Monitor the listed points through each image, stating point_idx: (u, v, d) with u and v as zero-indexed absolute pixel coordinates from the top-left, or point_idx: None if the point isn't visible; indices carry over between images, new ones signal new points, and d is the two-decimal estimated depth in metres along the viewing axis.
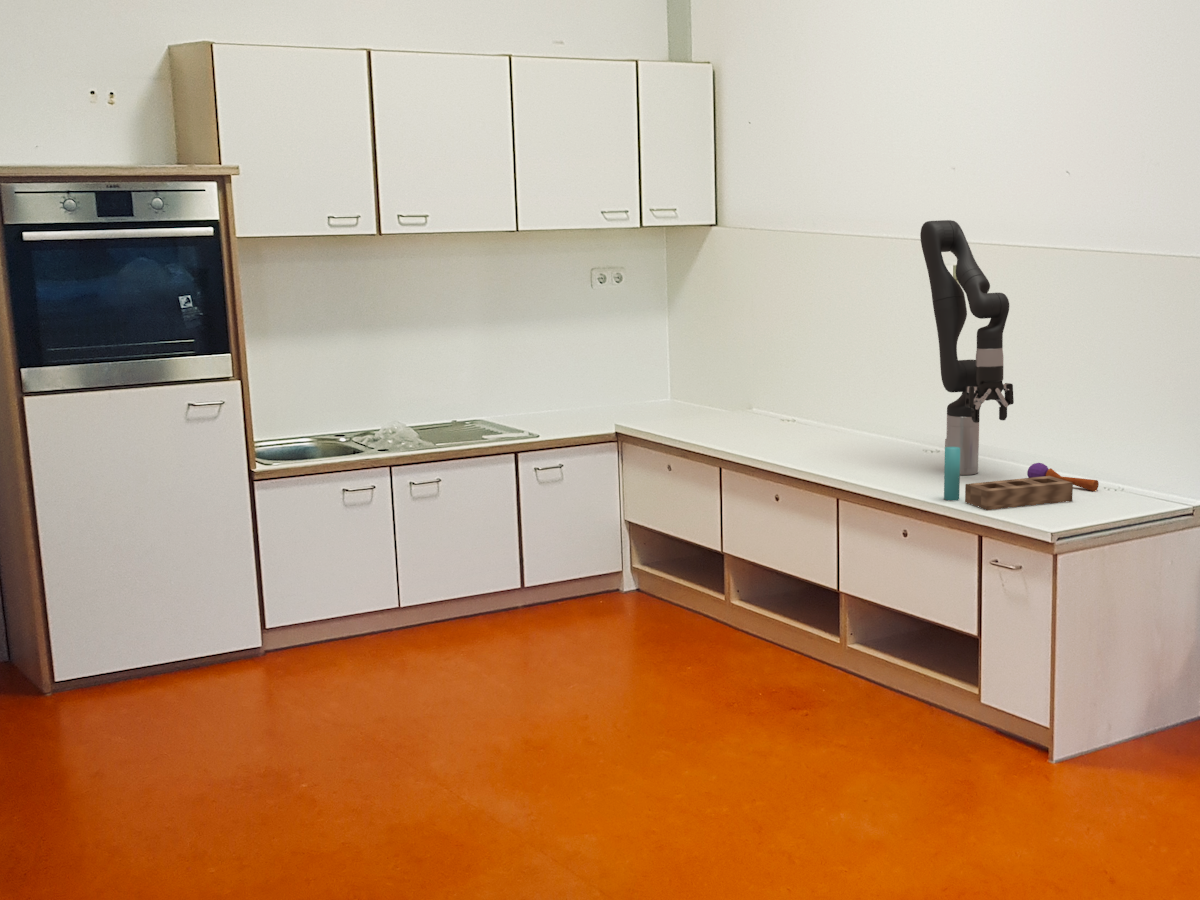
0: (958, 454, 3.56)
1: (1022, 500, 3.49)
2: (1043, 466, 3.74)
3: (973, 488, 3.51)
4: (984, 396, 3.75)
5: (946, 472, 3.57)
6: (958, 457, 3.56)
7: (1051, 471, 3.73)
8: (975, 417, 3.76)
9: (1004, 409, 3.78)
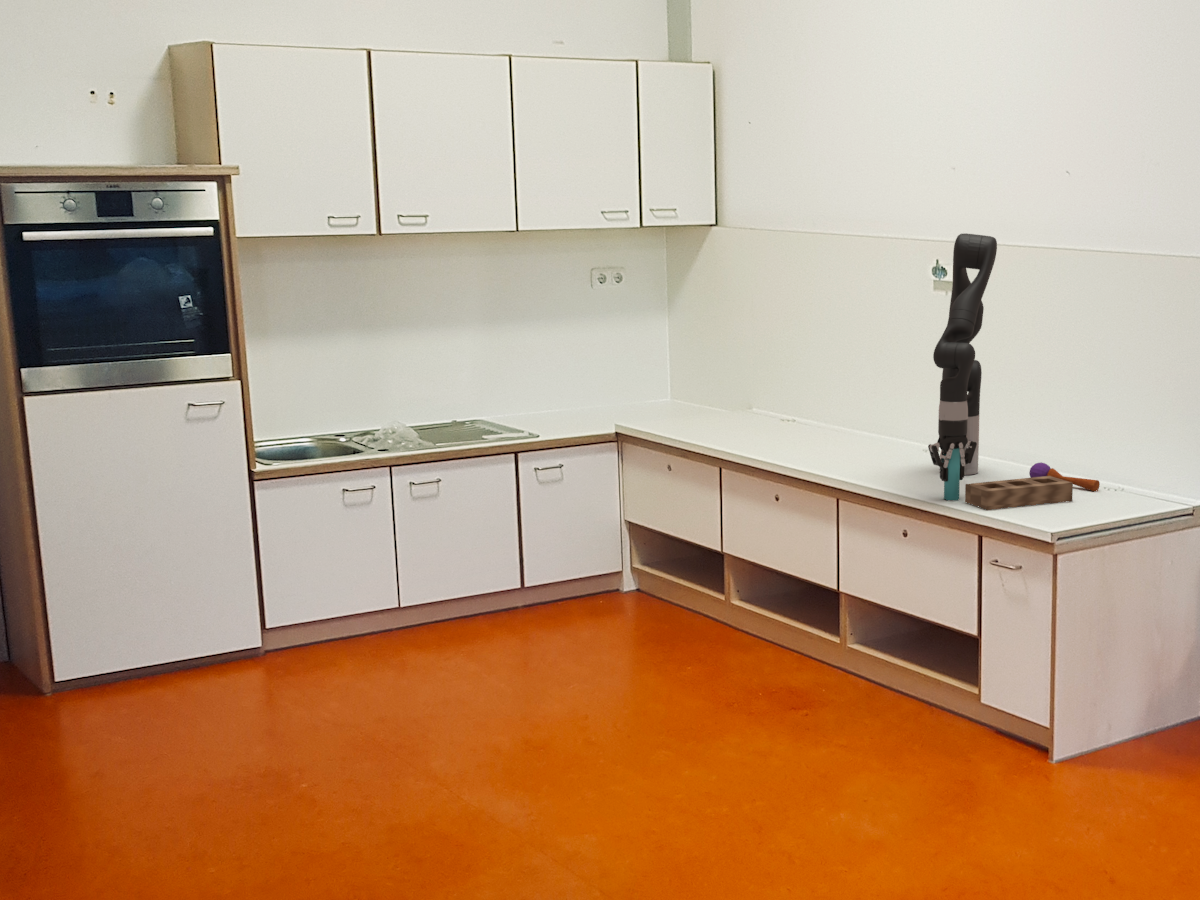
0: (958, 454, 3.56)
1: (1022, 500, 3.49)
2: (1045, 466, 3.75)
3: (973, 488, 3.51)
4: (949, 452, 3.55)
5: None
6: (958, 457, 3.56)
7: (1053, 471, 3.73)
8: (943, 476, 3.57)
9: (961, 468, 3.58)
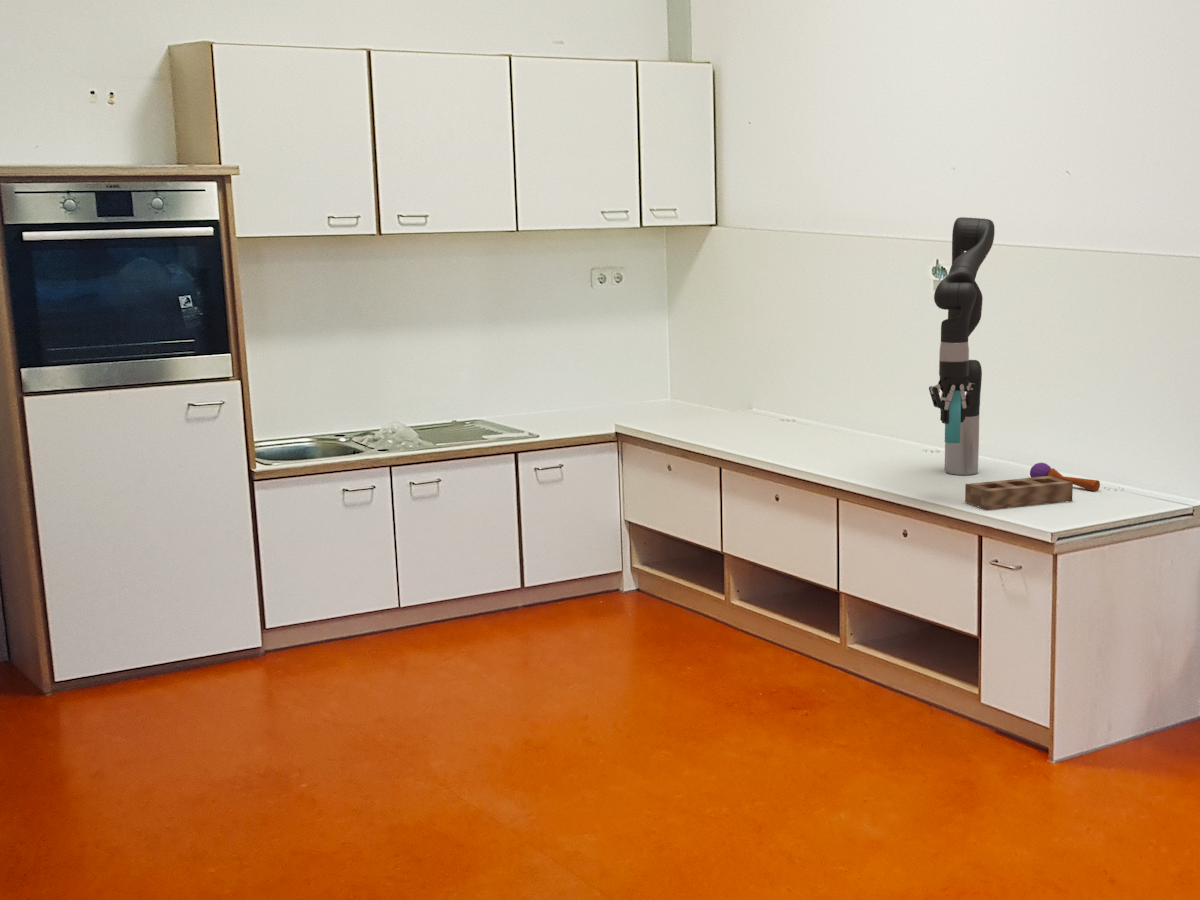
0: (959, 396, 3.53)
1: (1022, 500, 3.49)
2: (1045, 466, 3.75)
3: (973, 488, 3.51)
4: (950, 394, 3.52)
5: None
6: (959, 399, 3.53)
7: (1053, 471, 3.73)
8: (944, 418, 3.54)
9: (962, 411, 3.55)
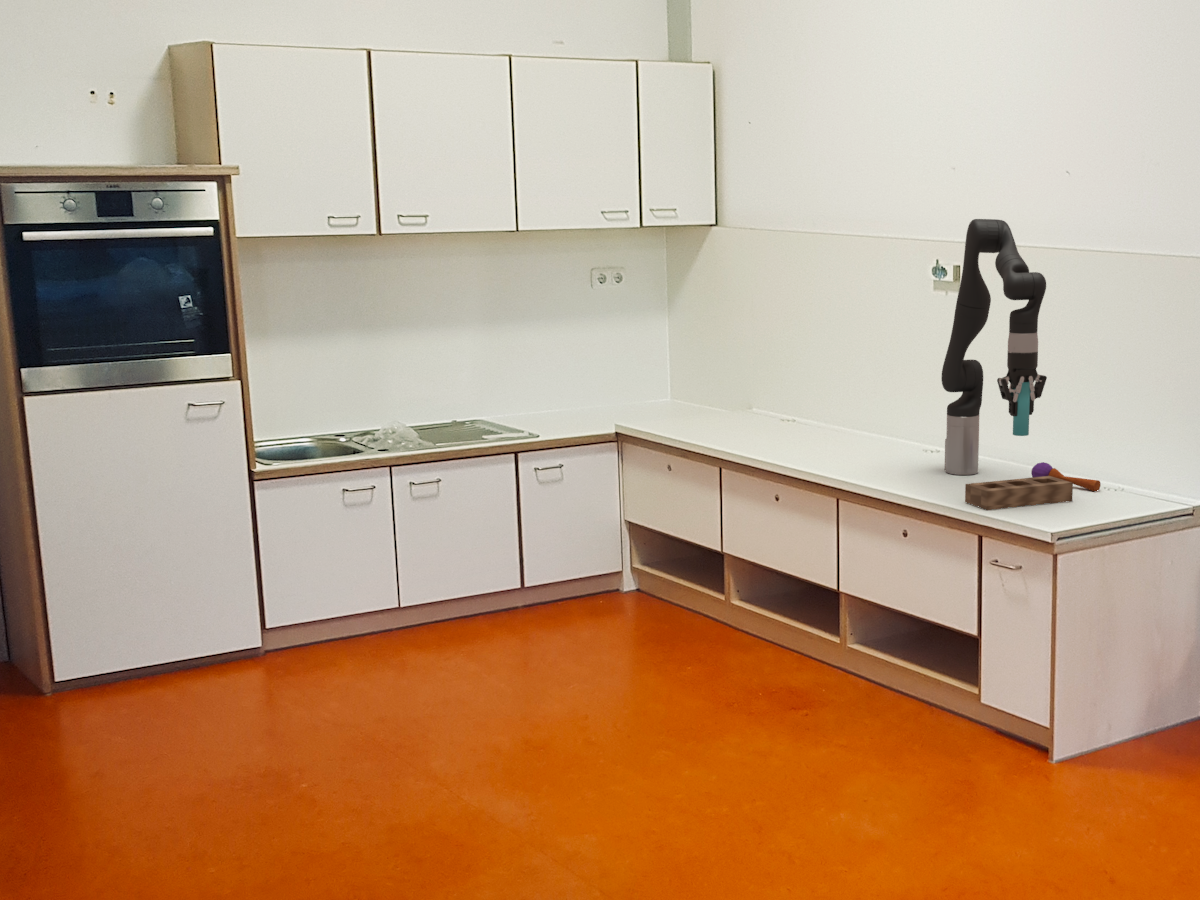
0: (1028, 388, 3.47)
1: (1022, 500, 3.49)
2: (1047, 466, 3.75)
3: (973, 488, 3.51)
4: (1019, 386, 3.47)
5: None
6: (1028, 391, 3.47)
7: (1054, 471, 3.73)
8: (1013, 410, 3.48)
9: (1031, 403, 3.49)
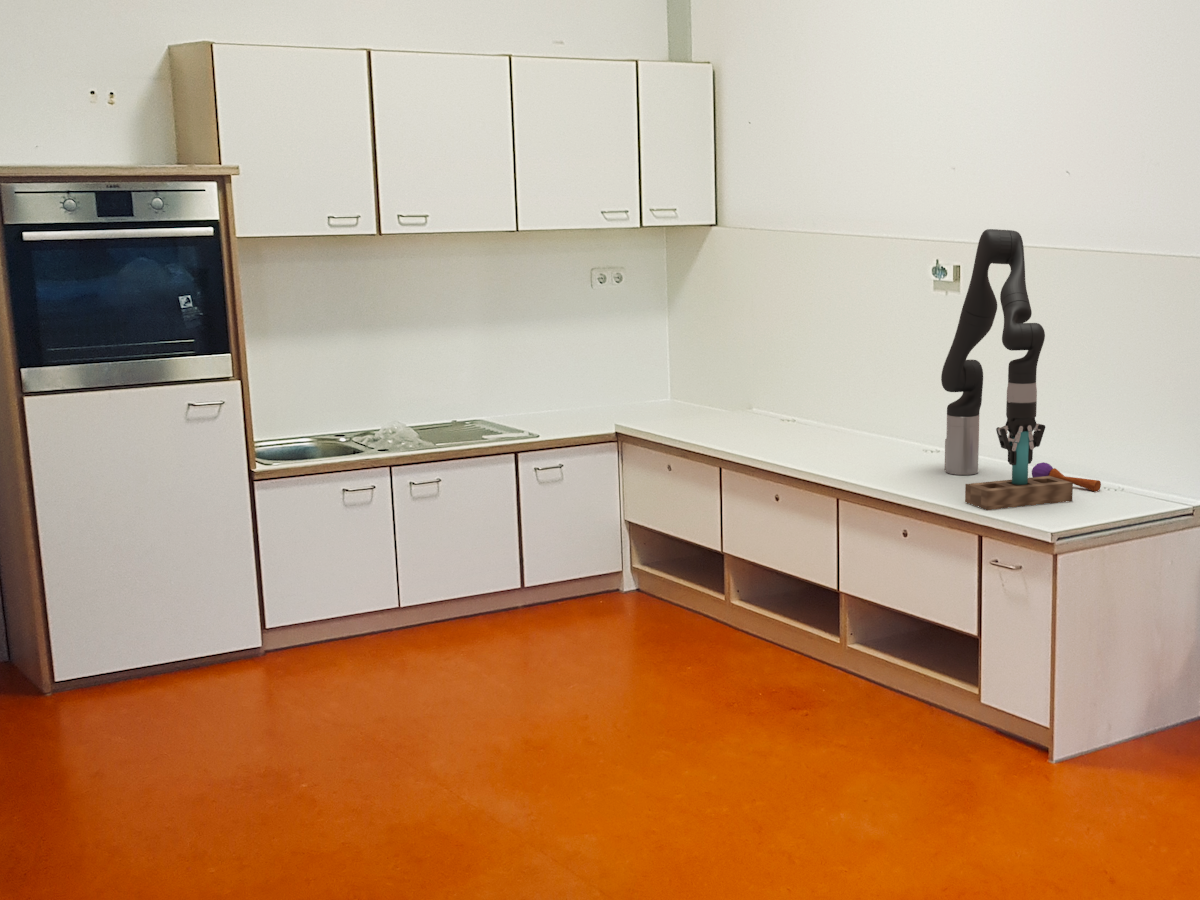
0: (1027, 437, 3.50)
1: (1022, 500, 3.49)
2: (1047, 466, 3.75)
3: (973, 488, 3.51)
4: (1018, 435, 3.49)
5: None
6: (1027, 440, 3.50)
7: (1055, 471, 3.73)
8: (1012, 459, 3.51)
9: (1029, 452, 3.52)
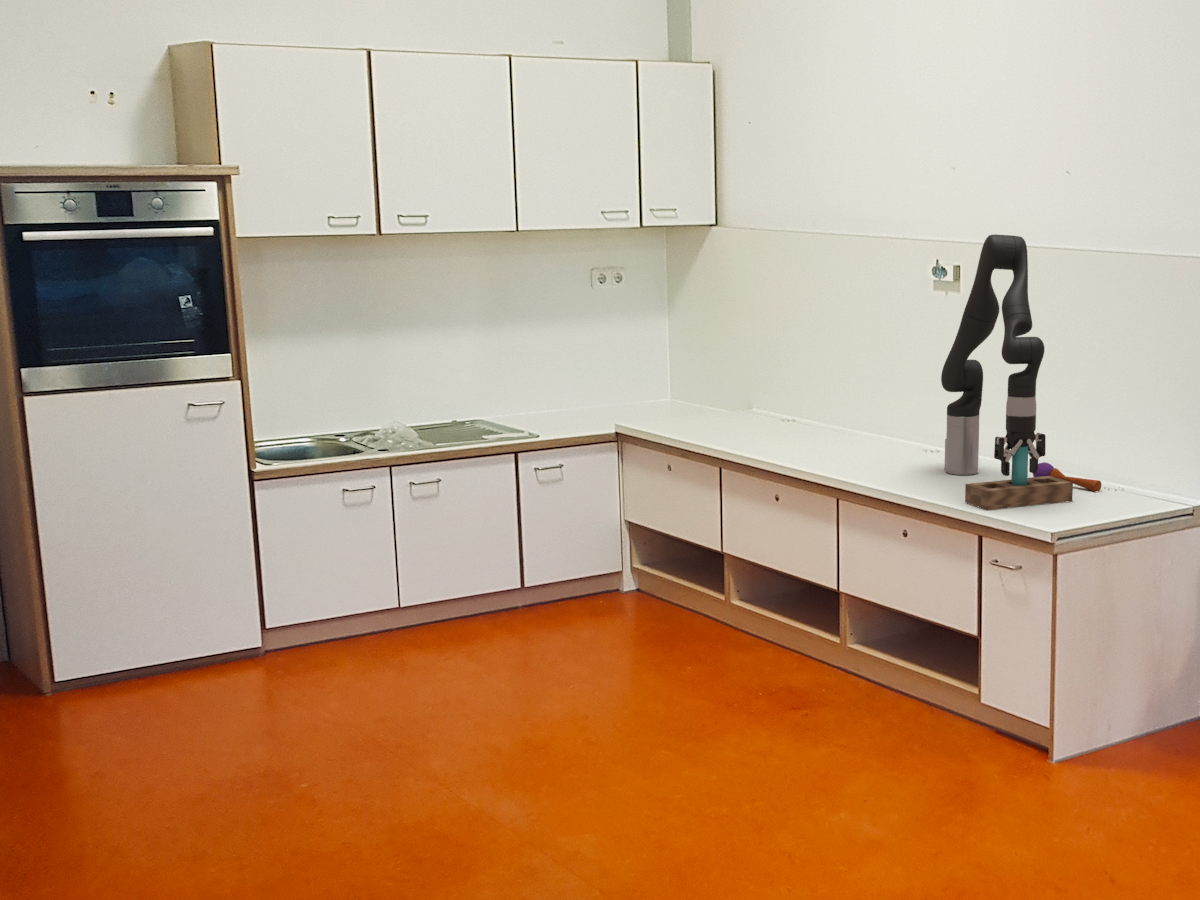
0: (1026, 452, 3.50)
1: (1022, 500, 3.49)
2: (1048, 466, 3.75)
3: (973, 488, 3.51)
4: (1015, 448, 3.49)
5: (1014, 471, 3.52)
6: (1026, 455, 3.50)
7: (1056, 471, 3.73)
8: (1005, 470, 3.51)
9: (1035, 461, 3.53)
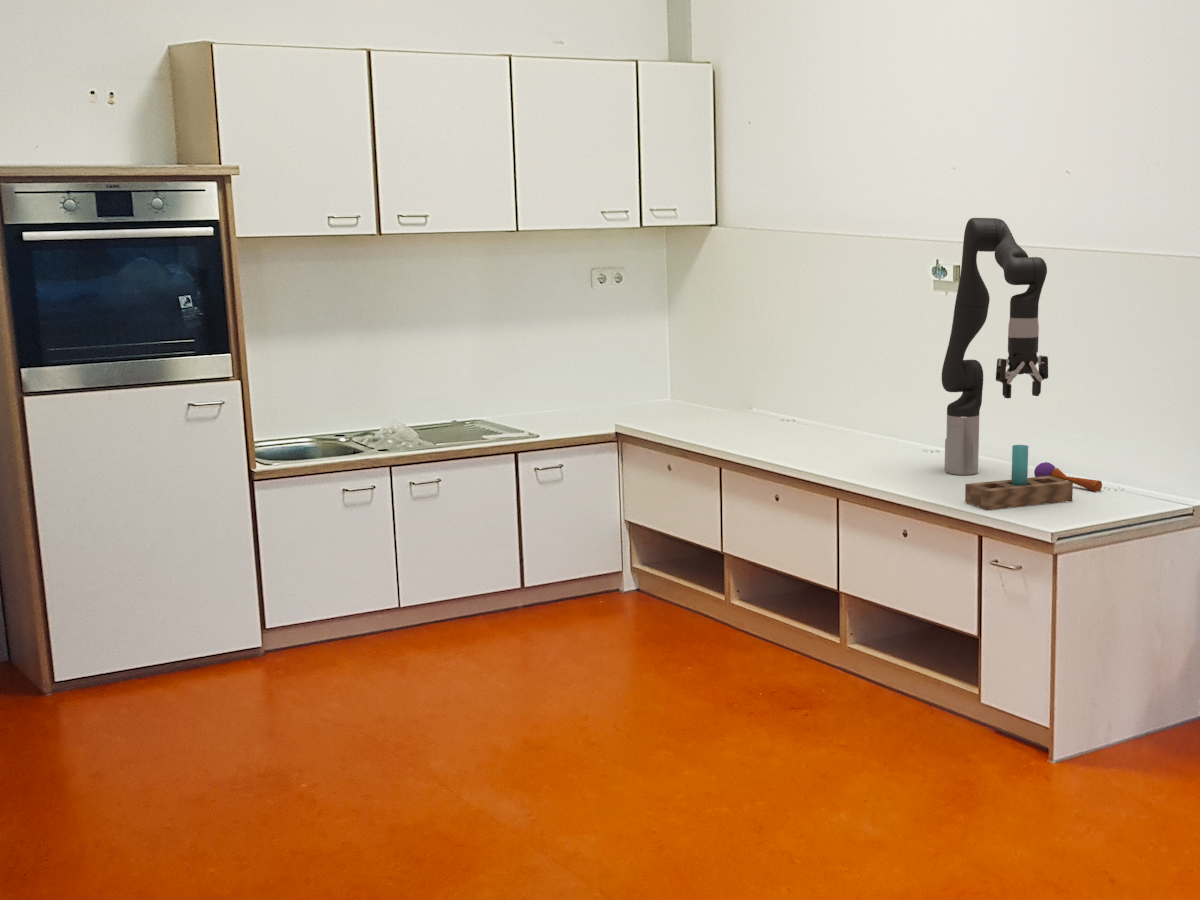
0: (1026, 452, 3.50)
1: (1022, 500, 3.49)
2: (1049, 466, 3.75)
3: (973, 488, 3.51)
4: (1017, 370, 3.46)
5: (1014, 471, 3.52)
6: (1026, 455, 3.50)
7: (1057, 471, 3.73)
8: (1006, 392, 3.47)
9: (1038, 384, 3.49)
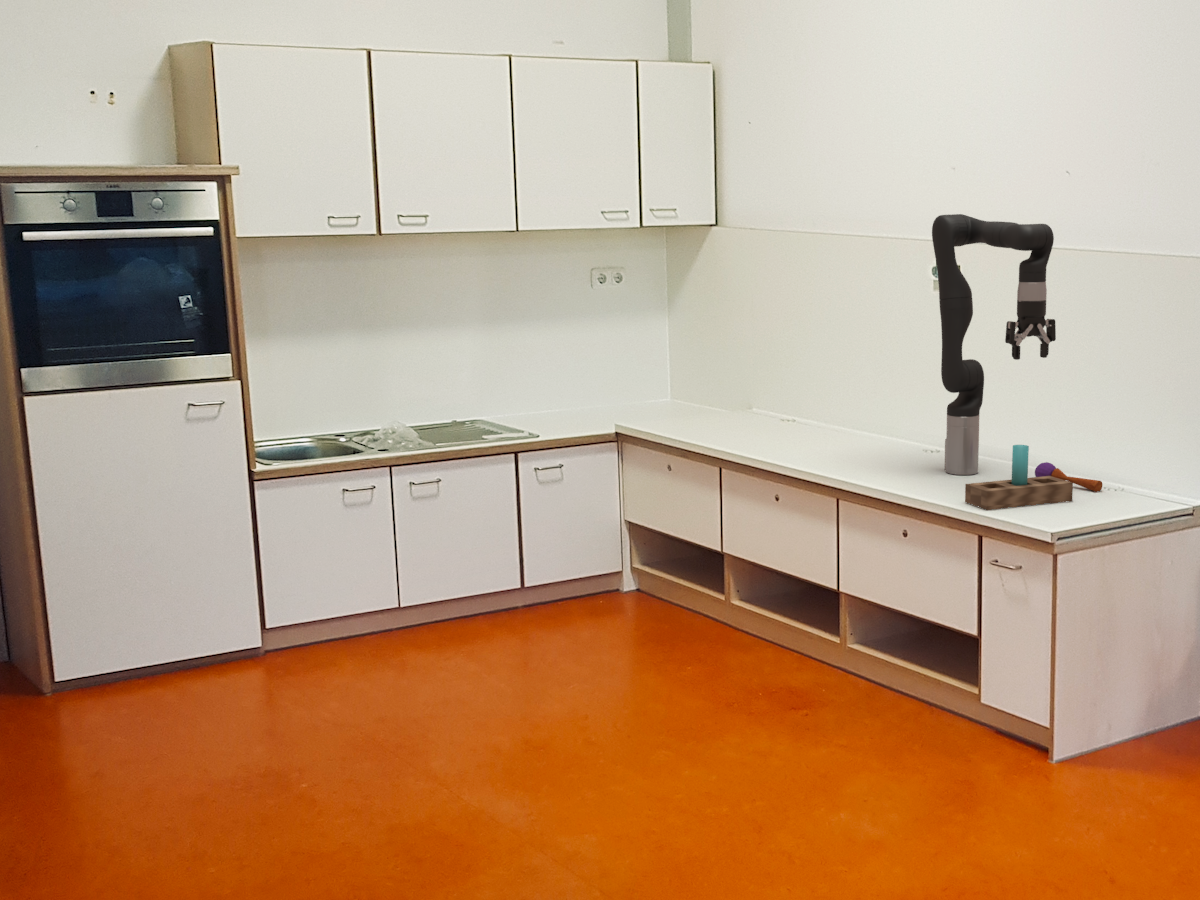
0: (1027, 452, 3.50)
1: (1022, 500, 3.49)
2: (1050, 466, 3.75)
3: (973, 488, 3.51)
4: (1025, 332, 3.61)
5: (1014, 471, 3.52)
6: (1026, 456, 3.50)
7: (1057, 471, 3.73)
8: (1016, 354, 3.62)
9: (1046, 346, 3.64)
